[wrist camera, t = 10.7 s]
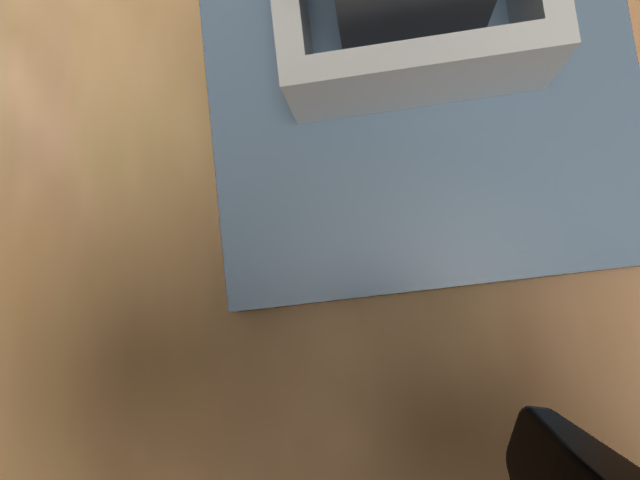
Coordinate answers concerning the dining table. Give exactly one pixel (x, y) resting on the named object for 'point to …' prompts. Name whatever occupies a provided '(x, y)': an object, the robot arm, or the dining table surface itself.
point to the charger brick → (407, 19)
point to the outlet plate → (420, 150)
